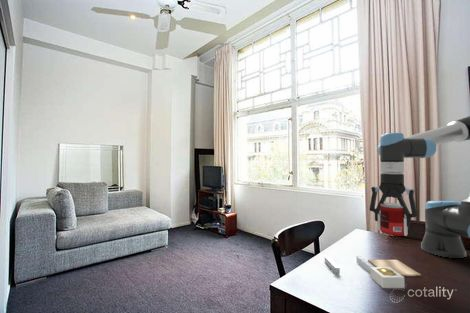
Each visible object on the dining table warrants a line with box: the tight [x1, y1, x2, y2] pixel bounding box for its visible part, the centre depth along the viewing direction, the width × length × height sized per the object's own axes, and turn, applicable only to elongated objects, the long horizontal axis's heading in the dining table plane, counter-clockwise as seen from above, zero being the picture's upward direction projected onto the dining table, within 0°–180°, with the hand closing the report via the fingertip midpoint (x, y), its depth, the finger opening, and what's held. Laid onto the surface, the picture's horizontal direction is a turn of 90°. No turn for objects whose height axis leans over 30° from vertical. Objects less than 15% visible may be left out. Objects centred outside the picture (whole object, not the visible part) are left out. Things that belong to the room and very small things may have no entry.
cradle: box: [324, 255, 374, 276], centre depth 88 cm, size 14×10×2 cm
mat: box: [367, 259, 422, 277], centre depth 88 cm, size 12×12×1 cm
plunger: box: [380, 268, 394, 275], centre depth 78 cm, size 4×4×3 cm
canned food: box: [379, 202, 406, 237], centre depth 88 cm, size 8×8×11 cm
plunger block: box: [369, 266, 405, 289], centre depth 78 cm, size 7×7×4 cm
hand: (392, 232), depth 88 cm, fingers closed on canned food, 8 cm apart
